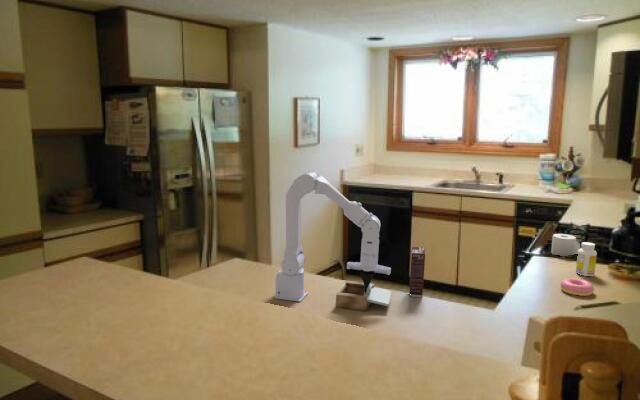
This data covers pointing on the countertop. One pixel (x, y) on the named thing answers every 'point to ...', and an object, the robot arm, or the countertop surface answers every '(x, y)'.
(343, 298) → the box
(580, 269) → the supplement bottle
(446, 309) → the countertop surface
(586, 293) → the doughnut
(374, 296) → the lid
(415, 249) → the supplement box
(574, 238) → the toilet tissue
